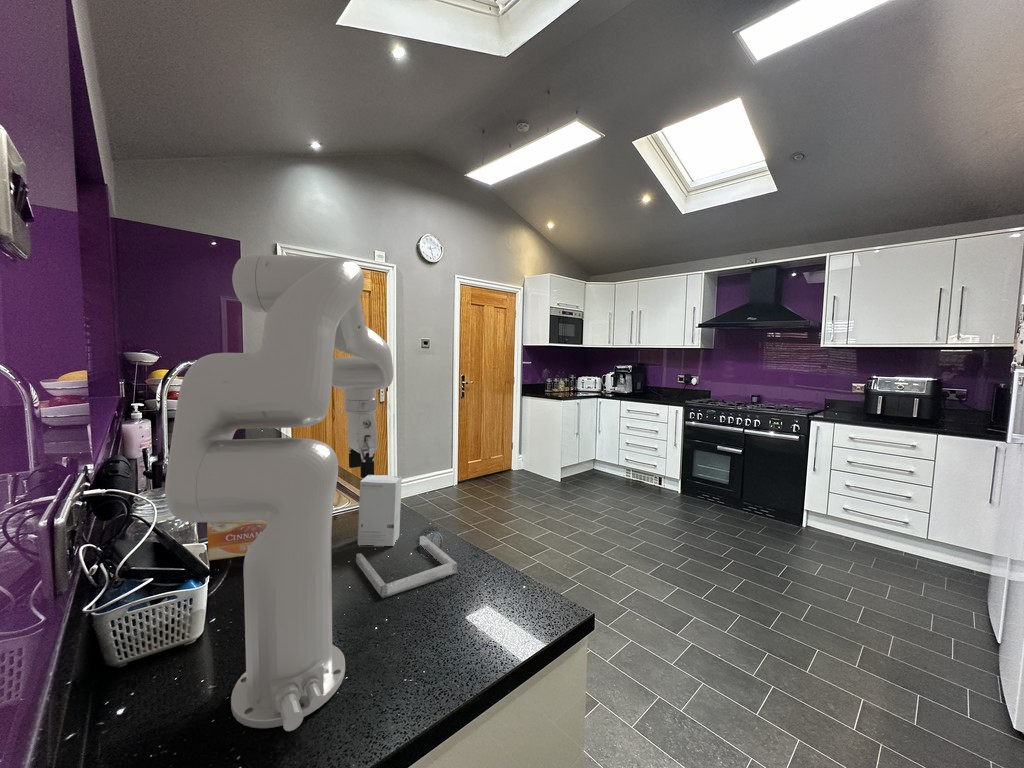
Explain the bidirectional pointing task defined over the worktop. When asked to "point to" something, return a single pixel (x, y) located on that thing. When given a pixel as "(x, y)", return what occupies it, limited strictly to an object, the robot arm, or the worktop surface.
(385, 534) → the skincare box
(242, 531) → the coffeecake box
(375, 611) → the worktop surface
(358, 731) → the worktop surface
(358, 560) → the bracket
